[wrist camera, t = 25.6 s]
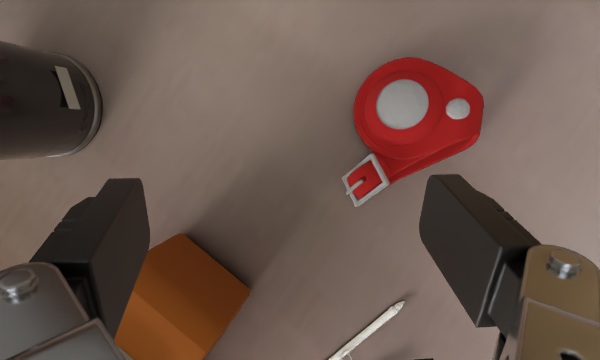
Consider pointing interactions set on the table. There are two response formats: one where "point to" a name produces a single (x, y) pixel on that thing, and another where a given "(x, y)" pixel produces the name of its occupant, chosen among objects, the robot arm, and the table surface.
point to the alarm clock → (178, 304)
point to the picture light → (367, 332)
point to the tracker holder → (410, 122)
